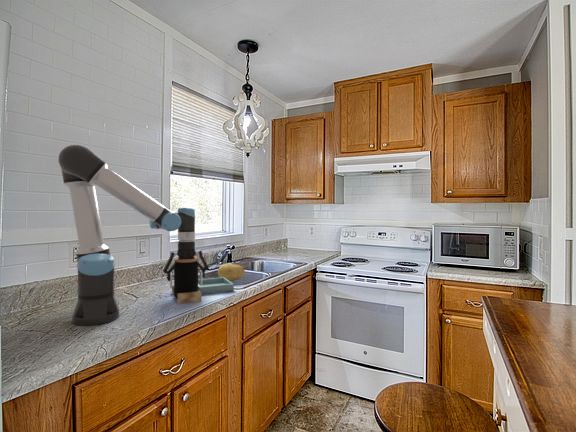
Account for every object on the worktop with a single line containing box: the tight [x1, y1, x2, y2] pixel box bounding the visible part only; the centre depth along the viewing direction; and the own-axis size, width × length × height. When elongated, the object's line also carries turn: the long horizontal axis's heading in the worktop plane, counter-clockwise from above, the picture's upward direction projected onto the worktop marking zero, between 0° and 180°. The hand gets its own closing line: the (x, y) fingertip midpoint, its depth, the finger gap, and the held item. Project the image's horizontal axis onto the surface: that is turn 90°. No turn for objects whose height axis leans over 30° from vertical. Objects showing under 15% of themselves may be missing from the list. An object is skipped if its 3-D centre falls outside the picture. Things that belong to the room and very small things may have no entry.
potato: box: [217, 263, 245, 282], centre depth 185 cm, size 10×14×10 cm
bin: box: [198, 277, 235, 295], centre depth 166 cm, size 17×17×4 cm
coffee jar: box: [173, 256, 199, 300], centre depth 150 cm, size 11×11×18 cm
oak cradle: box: [171, 284, 202, 305], centre depth 150 cm, size 10×19×4 cm, turn 27°
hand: (186, 286), depth 150 cm, fingers open, 13 cm apart
